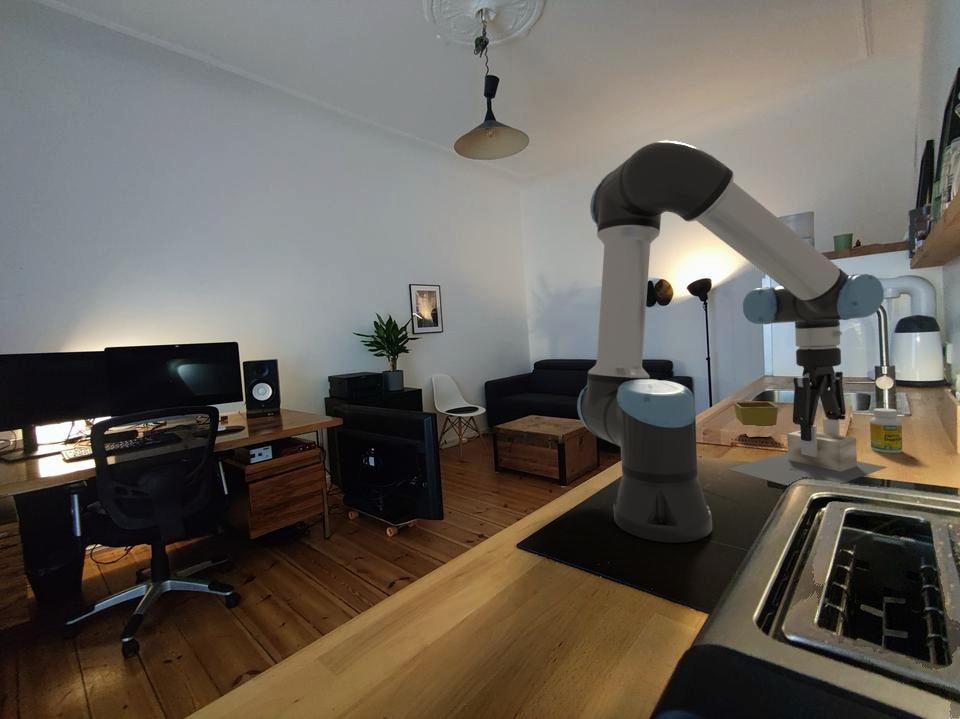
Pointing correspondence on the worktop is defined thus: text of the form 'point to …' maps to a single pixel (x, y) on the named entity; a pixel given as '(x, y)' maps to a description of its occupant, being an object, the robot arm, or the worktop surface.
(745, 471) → the mat
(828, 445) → the pale grey rectangular box
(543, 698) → the worktop surface
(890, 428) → the supplement bottle
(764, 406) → the flower pot
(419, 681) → the worktop surface
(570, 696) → the worktop surface
